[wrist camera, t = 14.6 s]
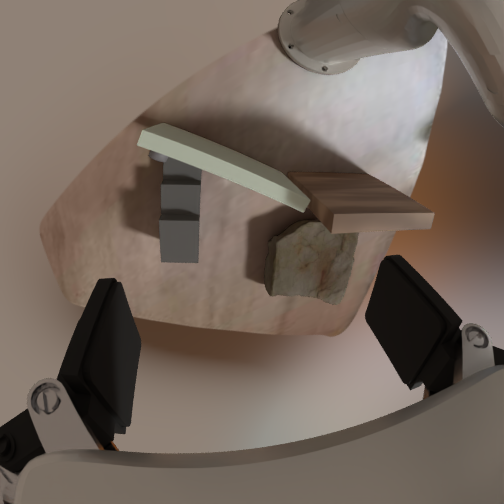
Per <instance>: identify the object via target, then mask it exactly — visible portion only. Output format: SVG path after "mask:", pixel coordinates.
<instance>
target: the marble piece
mask: <svg viewBox="0 0 504 504" xmlns="http://www.w3.org/2000/svg"><path fill="white" fill-rule="evenodd" d="M358 234H359V232H355V233H337V234H331V233H330V232H329V230H328V229H327V228H326V227H325V226H324V225H323V224H322V223H321V221H320V220H303V221H297V222H296V223H294V224H292V225H290V226H289V227H288V228H287V229H286V230H285V231H284V232H283V233H282V234H280V235H279V236H274V237H273V239H272V240H270V241H268V248H269V253H268V256H267V257H266V264H265V272H264V279H265V281H264V282H265V288H266V290H267V292H268V294H269V295H270V296H276V295H283V296H295V295H300V296H308V297H314V298H318V299H321V300H323V301H324V302H326V303H329V304H332V305H334V304H335V305H338V304H339V303H340V302H341V300H342V298H343V297H344V294H345V291H346V288H347V285H348V280H349V277H350V275H351V270H352V266H353V263H354V257H353V256H354V252H355V249H356V246H357V241H358Z"/></svg>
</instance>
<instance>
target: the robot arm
mask: <svg viewBox="0 0 504 504" xmlns="http://www.w3.org/2000/svg"><path fill="white" fill-rule="evenodd" d="M288 13H290V15H289V14H288ZM438 28H439V29H440V31H441V32H442V33H443V34H444V36H445V37H446V39H447V40H448V41H449V43H450V44H451V46H452V47H453V48H454V49H455V51H456V53H457V54H458V56H459V57H460V59H461V61H462V62H463V64H464V66H465V67H466V69H467V71H468V73H469V74H470V76H471V78H472V80H473V82H474V83H475V86H476V88H477V89H478V91H479V93H480V95H481V97H482V99H483V101H484V103H485V105H486V106H487V108H488V110H489V111H490V113H491V114H492V116H493V117H494V118H495V120H496V121H498V123H499V124H500V125H501V126H503V127H504V0H298V1H296V2H294V3H292V4H291V5H290V6H289V7H287V8H286V9H285V11H284V12H283V13H282V15H281V17H280V19H279V24H278V35H279V40H280V42H281V45H282V47H283V49H284V50H285V52H286V53H287V55H288V56H289V57H290V58H291V59H292V60H293V61H294V62H296V63H297V64H298V65H300V66H301V67H303V68H305V69H307V70H308V71H311V72H314V73H318V74H323V75H333V74H339V73H343V72H346V71H348V70H350V69H351V68H353V67H354V66H355V65H356V64H357V63H358V61H359V60H360V58H364V57H369V56H375V55H380V54H387V53H393V52H401V51H407V50H413V49H417V48H419V47H422V46H424V45H425V44H426V43H428V42H429V41H430V40H431V39H432V37H433V36H434V34H435V33H436V31H437V29H438ZM288 46H290V47H291V49H289V48H288ZM322 68H323V69H324V71H323V70H322ZM365 319H366V322H367V323H368V325H369V326H370V328H371V330H372V331H373V333H374V335H375V336H376V338H377V339H378V341H379V343H380V344H381V346H382V348H383V349H384V351H385V353H386V354H387V356H388V357H389V359H390V361H391V363H392V364H393V366H394V368H395V370H396V371H397V373H398V375H399V376H400V378H401V380H402V381H403V383H404V384H407V386H408V387H409V389H410V390H412V389H414V388H417V387H419V386H421V384H422V383H424V385H425V389H424V395H423V400H421V401H419V402H417V403H415V404H412V405H411V406H408V407H406V408H403V409H401V410H398V411H396V412H394V413H391V414H388V415H386V416H383V417H380V418H377V419H375V420H372V421H369V422H366V423H363V424H360V425H357V426H354V427H351V428H347V429H345V430H341V431H337V432H333V433H330V434H326V435H322V436H318V437H314V438H310V439H305V440H301V441H296V442H291V443H286V444H280V445H274V446H268V447H262V448H255V449H246V450H238V451H227V452H213V453H183V454H181V453H180V454H179V453H178V454H166V453H165V454H164V453H139V452H125V451H119V449H118V448H117V447H116V445H115V444H114V443H113V440H114V433H118V434H125V433H126V427H129V426H130V424H131V417H132V407H133V398H134V390H135V383H136V376H137V369H138V362H139V356H140V350H141V338H140V336H139V333H138V330H137V327H136V325H135V322H134V319H133V316H132V313H131V310H130V307H129V304H128V301H127V298H126V295H125V292H124V289H123V286H122V283H121V282H117V280H116V279H115V278H105V279H99V280H98V281H97V283H96V286H95V288H94V290H93V292H92V294H91V296H90V298H89V300H88V303H87V305H86V307H85V310H84V312H83V314H82V316H81V318H80V320H79V321H78V324H77V326H76V328H75V331H74V333H73V336H72V338H71V341H70V344H69V346H68V349H67V352H66V354H65V357H64V360H63V362H62V365H61V368H60V371H59V374H58V377H57V380H56V379H52V378H46V379H43V380H40V381H38V382H37V383H36V384H34V385H33V387H32V388H31V389H30V391H29V394H28V397H27V406H28V409H26V410H25V411H23V412H22V413H20V414H19V415H17V416H16V417H14V418H13V419H11V420H10V421H9V422H7V423H6V424H4V425H3V426H1V427H0V504H504V350H502V349H500V348H497V347H494V346H492V341H491V338H490V335H489V334H488V332H487V331H486V330H485V329H484V328H482V327H481V326H479V325H477V324H473V323H469V324H466V325H464V327H463V328H462V330H460V329H459V326H460V325H461V323H462V320H461V319H460V317H459V316H458V315H457V314H456V313H455V312H454V310H453V309H452V308H451V307H450V306H449V305H448V304H447V303H446V301H445V300H444V299H443V298H442V297H441V296H440V295H439V294H438V293H437V292H436V291H435V290H434V289H433V287H432V286H431V285H430V284H429V283H428V282H427V281H426V280H425V279H424V278H423V277H422V276H421V275H420V274H419V273H418V272H417V271H416V270H415V269H414V268H413V267H412V266H411V265H410V264H409V263H408V262H407V261H406V260H405V259H404V258H403V257H402V256H400V255H391V256H386V257H385V258H384V260H382V261H381V263H380V267H379V270H378V274H377V277H376V281H375V285H374V288H373V291H372V294H371V298H370V301H369V304H368V307H367V310H366V313H365Z"/></svg>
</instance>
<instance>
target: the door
mask: <svg viewBox="0 0 504 504" xmlns="http://www.w3.org/2000/svg"><path fill="white" fill-rule="evenodd" d="M137 145H138V146H140V147H143V148H146V149H149V150H150V153H149V155H148V156H149V157H150V158H152V159H154V160H157V161H160V162H166V161H167V159H168V157H171V158H174V159H176V160H179V161H182V162H184V163H187V164H190V165H192V166H195V167H197V168H200V169H202V170H205V171H208V172H210V173H213V174H215V175H218V176H220V177H222V178H225V179H227V180H230V181H232V182H235V183H237V184H239V185H242V186H244V187H247V188H249V189H251V190H254V191H256V192H258V193H260V194H263V195H265V196H267V197H270V198H272V199H274V200H276V201H279V202H281V203H283V204H285V205H288V206H290V207H292V208H294V209H296V210H298V211H301V212H303V213H304V211H305V209H306V208H307V206H308V204H309V202H310V201H311V200H310V199H309V198H308V197H307V196H306V195H305V194H304V193H303V192H302V191H301V190H300V189H299V188H298V187H297V186H296V185H294V184H293V183H292V182H291V181H290V180H289V179H288V178H287V177H286V176H285V175H284V174H283V173H282V172H280V171H278V170H276V169H274V168H272V167H270V166H268V165H265V164H263V163H261V162H259V161H257V160H254V159H252V158H250V157H248V156H246V155H243V154H241V153H239V152H236V151H234V150H232V149H230V148H227V147H225V146H222V145H220V144H218V143H215V142H213V141H210V140H208V139H205V138H203V137H200V136H198V135H195V134H193V133H190V132H187V131H185V130H182V129H180V128H177V127H174V126H171V125H169V124H166V123H161V124H158V125H155V126H152V127H149V128H147V129H144V130H142V133H141V136H140V138H139V141H138V144H137Z"/></svg>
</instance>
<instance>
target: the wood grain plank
mask: <svg viewBox="0 0 504 504" xmlns="http://www.w3.org/2000/svg"><path fill="white" fill-rule="evenodd" d="M287 178H288V179H289V180H290V181H291V182H292V183H293V184H294V185H296V186H297V187H298V188H299V189H300V190H301V191H302V192H303V193H304V194H305V195H306V196H307V197H308V198H309V199H310V200H311V201H310V202H309V204H308V206H307V207H308V208H309V209H310V210H311V211H312V213H313V214H314V215H315V216H316V217H317V218H318V219H319V220H320V221H321V223H322V224H323V225H324V226H325V227H326V228H327V229H328V230H329V232H330V233H331V234H337V233H355V232H374V231H395V230H415V229H431V226H432V222H433V218H434V214H435V213H434V212H432V211H431V210H429V209H428V208H426V207H424V206H423V205H421V204H420V203H418V202H416V201H415V200H413V199H411V198H410V197H408V196H406V195H405V194H403V193H401V192H400V191H398V190H396V189H395V188H393V187H391V186H389V185H387V184H386V183H384V182H382V181H380V180H378V179H377V178H375V177H373V176H371V175H369V174H358V173H333V172H288V176H287Z"/></svg>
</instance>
